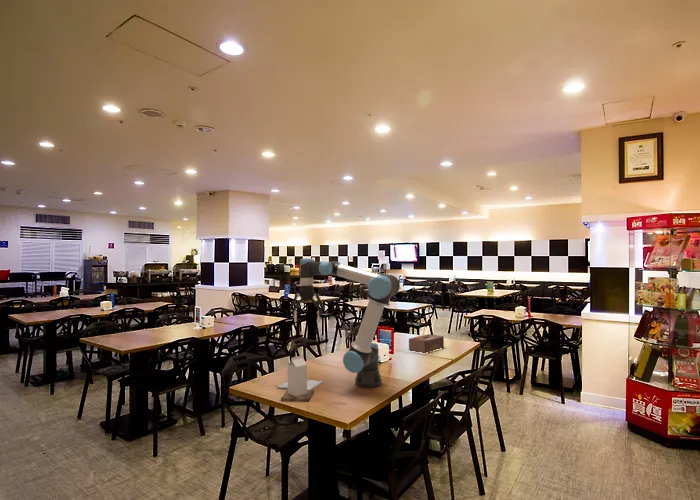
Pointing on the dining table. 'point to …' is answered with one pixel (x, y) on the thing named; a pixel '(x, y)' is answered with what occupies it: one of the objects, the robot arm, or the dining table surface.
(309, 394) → the walnut board
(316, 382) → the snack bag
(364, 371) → the robot arm
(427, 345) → the tissue box cover
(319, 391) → the dining table surface
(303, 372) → the milk carton
